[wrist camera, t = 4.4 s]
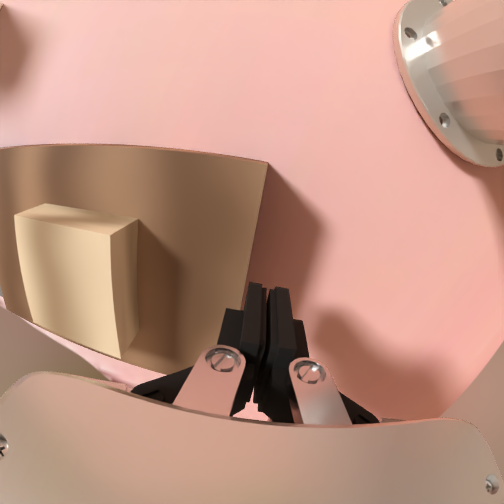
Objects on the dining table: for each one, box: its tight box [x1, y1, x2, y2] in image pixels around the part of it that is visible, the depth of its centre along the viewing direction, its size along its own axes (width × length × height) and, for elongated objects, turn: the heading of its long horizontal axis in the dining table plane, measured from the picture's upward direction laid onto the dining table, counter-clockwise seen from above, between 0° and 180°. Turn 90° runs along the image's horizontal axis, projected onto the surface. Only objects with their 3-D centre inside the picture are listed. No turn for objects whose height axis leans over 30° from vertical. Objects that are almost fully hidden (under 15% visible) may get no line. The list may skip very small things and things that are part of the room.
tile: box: [14, 203, 139, 359], centre depth 11 cm, size 6×6×2 cm
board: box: [0, 144, 268, 375], centre depth 14 cm, size 18×12×4 cm, turn 80°
